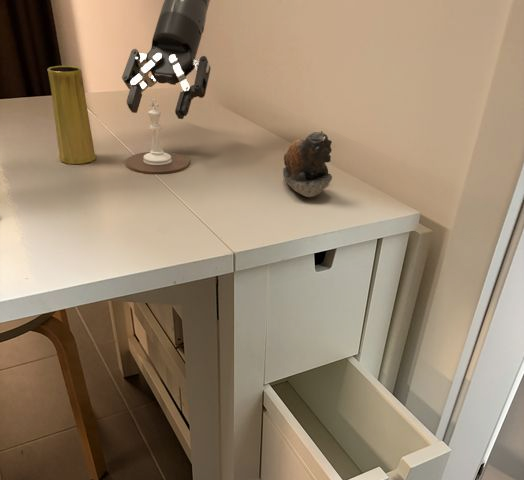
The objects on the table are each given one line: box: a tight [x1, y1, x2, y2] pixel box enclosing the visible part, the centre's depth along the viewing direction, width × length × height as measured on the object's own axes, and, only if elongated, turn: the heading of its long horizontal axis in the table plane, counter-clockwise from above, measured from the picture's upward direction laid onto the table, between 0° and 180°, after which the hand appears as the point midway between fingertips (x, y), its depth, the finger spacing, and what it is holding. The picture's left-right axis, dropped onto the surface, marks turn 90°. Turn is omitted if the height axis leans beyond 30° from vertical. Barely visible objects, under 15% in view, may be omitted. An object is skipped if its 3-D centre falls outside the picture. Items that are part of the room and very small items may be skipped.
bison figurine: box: [282, 130, 333, 198], centre depth 86 cm, size 12×7×10 cm, turn 14°
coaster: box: [124, 151, 190, 175], centre depth 96 cm, size 11×11×1 cm
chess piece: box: [143, 98, 172, 165], centre depth 93 cm, size 5×5×10 cm
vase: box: [47, 65, 97, 165], centre depth 92 cm, size 6×6×14 cm
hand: (155, 113), depth 92 cm, fingers open, 8 cm apart
